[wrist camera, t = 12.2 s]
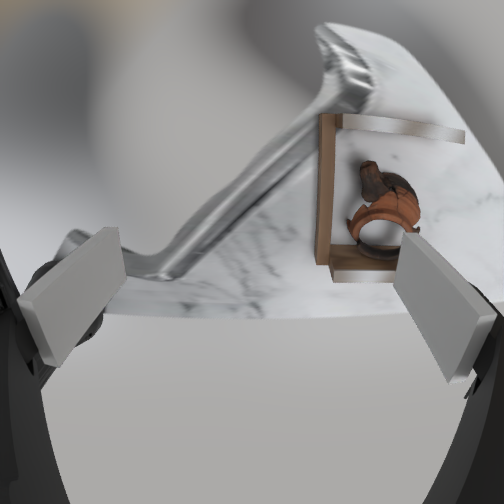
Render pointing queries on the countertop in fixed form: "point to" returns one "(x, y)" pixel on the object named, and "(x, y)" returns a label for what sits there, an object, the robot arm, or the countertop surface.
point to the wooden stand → (335, 256)
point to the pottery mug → (384, 207)
